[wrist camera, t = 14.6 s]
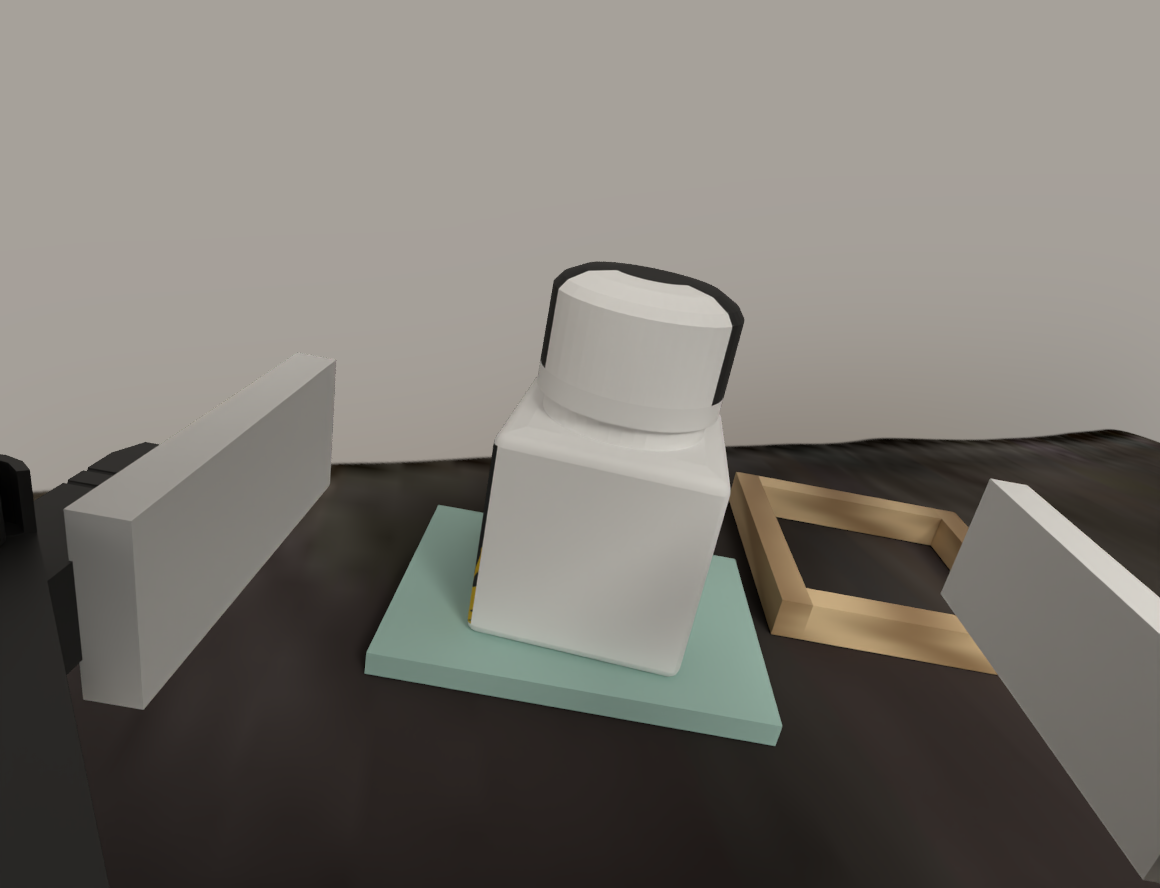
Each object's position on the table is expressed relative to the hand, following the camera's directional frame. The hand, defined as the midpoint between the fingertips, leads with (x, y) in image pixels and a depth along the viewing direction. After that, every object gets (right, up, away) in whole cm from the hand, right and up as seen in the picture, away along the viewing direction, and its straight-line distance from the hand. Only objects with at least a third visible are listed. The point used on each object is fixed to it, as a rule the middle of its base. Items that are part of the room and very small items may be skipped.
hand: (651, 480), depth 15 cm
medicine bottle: (-1, -5, +13) cm, 14 cm away
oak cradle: (+12, -6, +20) cm, 24 cm away
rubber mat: (-1, -6, +13) cm, 14 cm away
